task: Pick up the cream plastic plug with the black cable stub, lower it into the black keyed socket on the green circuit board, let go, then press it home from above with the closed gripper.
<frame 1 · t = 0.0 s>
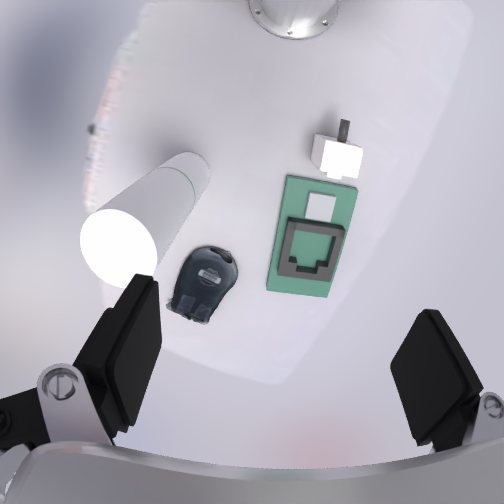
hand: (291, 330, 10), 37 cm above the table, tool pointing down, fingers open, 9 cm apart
cylindrical container: (187, 174, 44), on the table
circuit board: (309, 239, 49), on the table
electronic device: (204, 279, 54), on the table
keyed plug: (329, 149, 42), on the table
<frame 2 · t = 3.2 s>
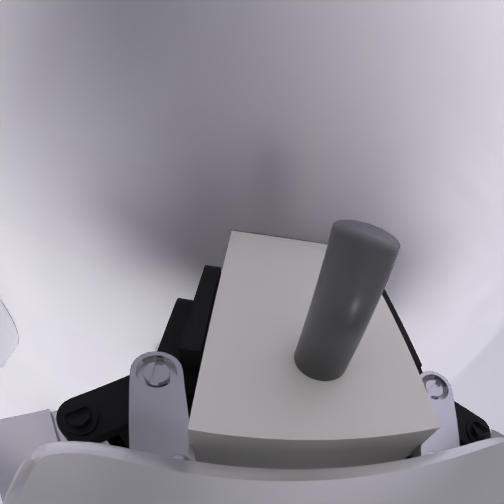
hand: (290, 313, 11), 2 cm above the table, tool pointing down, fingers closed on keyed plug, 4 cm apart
keyed plug: (286, 283, 12), on the table, touching gripper
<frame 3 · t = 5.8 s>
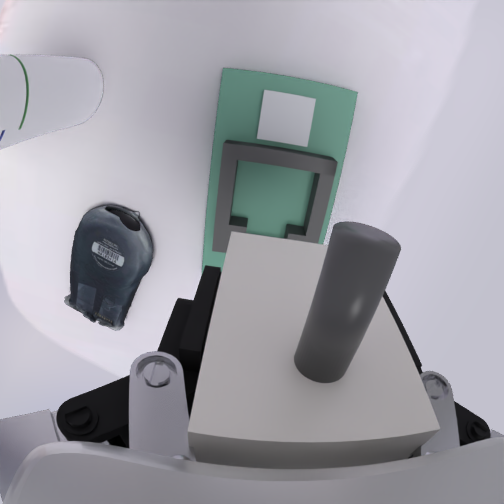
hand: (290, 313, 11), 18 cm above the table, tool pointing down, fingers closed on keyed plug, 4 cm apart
cylindrical container: (75, 91, 22), on the table
circuit board: (272, 186, 27), on the table
electronic device: (111, 260, 32), on the table
keyed plug: (287, 284, 12), point 16 cm above the table, touching gripper
when the fingers open (6 cm above the table, at t = 8.5 s): keyed plug drops 2 cm, resting on circuit board.
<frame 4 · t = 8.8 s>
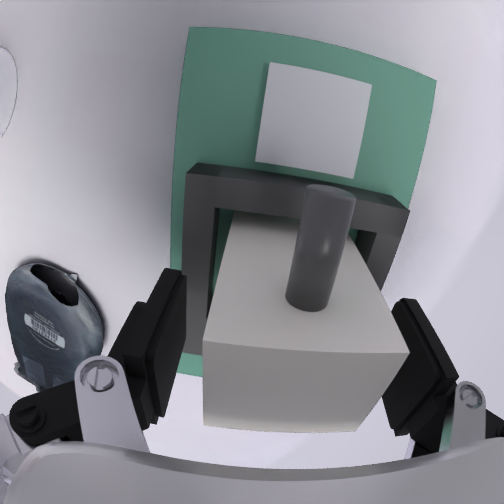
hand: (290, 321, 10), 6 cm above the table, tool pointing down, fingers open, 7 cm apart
circuit board: (282, 242, 16), on the table
electronic device: (59, 328, 21), on the table
keyed plug: (283, 255, 14), point 1 cm above the table, touching circuit board
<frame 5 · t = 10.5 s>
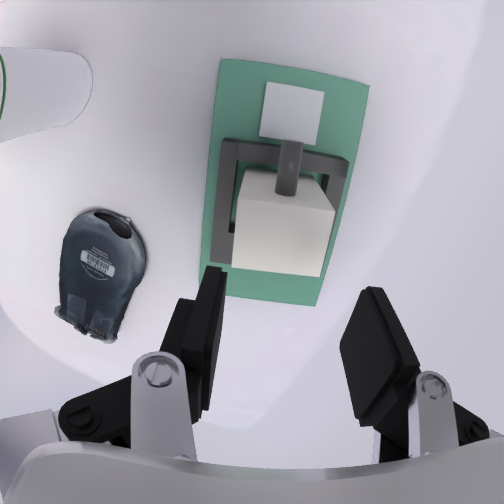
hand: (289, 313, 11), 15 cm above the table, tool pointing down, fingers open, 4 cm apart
cylindrical container: (63, 88, 20), on the table
circuit board: (275, 190, 24), on the table
electronic device: (103, 269, 29), on the table
keyed plug: (276, 195, 23), point 1 cm above the table, touching circuit board
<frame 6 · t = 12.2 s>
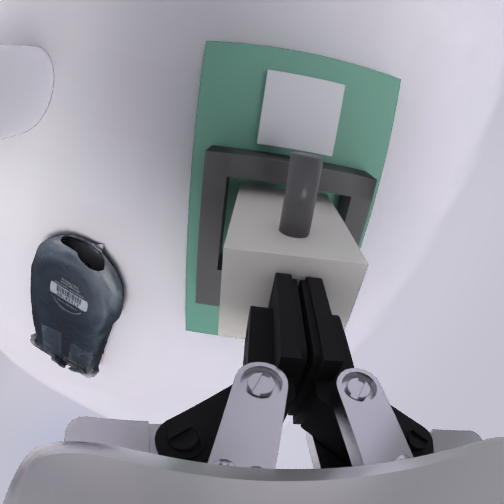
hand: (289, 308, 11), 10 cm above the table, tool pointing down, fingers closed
cylindrical container: (23, 89, 15), on the table
circuit board: (278, 211, 19), on the table
electronic device: (78, 298, 24), on the table
keyed plug: (279, 219, 18), point 2 cm above the table, touching circuit board, gripper
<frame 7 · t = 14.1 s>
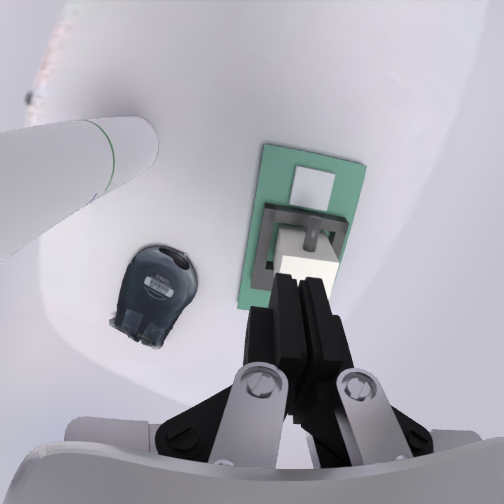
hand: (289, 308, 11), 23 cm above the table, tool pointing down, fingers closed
cylindrical container: (130, 146, 31), on the table
circuit board: (296, 238, 35), on the table
electronic device: (156, 290, 39), on the table
keyed plug: (297, 242, 33), point 1 cm above the table, touching circuit board
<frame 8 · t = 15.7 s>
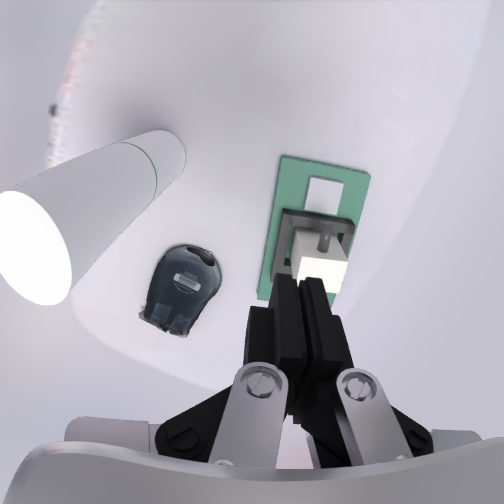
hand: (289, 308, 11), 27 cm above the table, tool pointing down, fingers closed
cylindrical container: (159, 157, 35), on the table
circuit board: (309, 237, 39), on the table
electronic device: (183, 285, 44), on the table
keyed plug: (311, 242, 38), point 1 cm above the table, touching circuit board
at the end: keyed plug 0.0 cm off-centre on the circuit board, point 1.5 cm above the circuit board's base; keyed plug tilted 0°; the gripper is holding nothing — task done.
